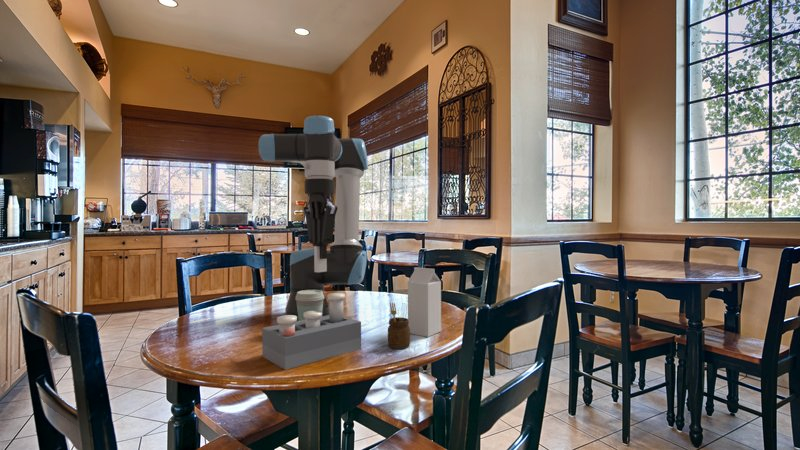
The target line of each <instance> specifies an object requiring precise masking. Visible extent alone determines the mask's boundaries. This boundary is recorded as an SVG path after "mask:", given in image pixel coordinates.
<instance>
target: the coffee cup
mask: <svg viewBox="0 0 800 450" xmlns="http://www.w3.org/2000/svg"><path fill="white" fill-rule="evenodd" d="M324 298H325V297H324V294H323V291H321V290H303V291H299V292H297V295H296V298H295V300H296V302H297V311H298V319H297V320H298V321H301V320H306V318H304V317H303V313H304V312H307V311H322V309H323V299H324Z"/></svg>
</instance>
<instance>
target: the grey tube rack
mask: <svg viewBox="0 0 800 450" xmlns="http://www.w3.org/2000/svg"><path fill="white" fill-rule="evenodd" d="M261 328H262V330H261V336H262V343H261V344H262V348H261V349H262V357H263V358H264V359H266V360H268V362H271V363H272V364H274V365H276V366H278V367H280V368H282V369H283V370H285V371H287V370H290V369H293V368H297V367H300V366H301V367H302V366H304V365H308V364H312V363H315V362H319V361H322V360H326V359H329V358H333V357H334V358H335V357H336V356H337V357H338V356H340V355H345V354H348V353H351V352H355V351H358V350H361V349H362V321H359V320H356V319H353V318H350V317H347V316H343V321H341V322H337V323H331V322H330V314H327V315H325V316H322V317H321V318H320V326H318V327H313V328H308V329H306V320H301V321H299V320H297V322H295V329H293V328H288V329H285V330H284V334H281V333H279V324H276V325H272V326H271V325H270V326H266V327H265V326H264V327H261Z"/></svg>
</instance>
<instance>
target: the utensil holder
mask: <svg viewBox="0 0 800 450" xmlns="http://www.w3.org/2000/svg"><path fill="white" fill-rule="evenodd" d="M403 305H405V311H403V313H402V314H403V315H404V316H402V315H400V313H398V312H402V310H403V309H402V308H398V312H397V308H396V304H395V302H394V303H393V302H389V309H390V314H391V315H393V317H391V318H390V319H388V320H389V321H388V327H387V346H388V347H389V348H391V349H394V350H404V349H408V348H410V346H411V333H410V328H409V326H408V324H409V321H408V317H406V316H407V314H406V312H408V304H406V303H404V302H403ZM397 314H398V317H396V315H397Z"/></svg>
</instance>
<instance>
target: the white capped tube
mask: <svg viewBox="0 0 800 450" xmlns="http://www.w3.org/2000/svg"><path fill="white" fill-rule="evenodd" d="M297 321H298V319H297V316H295V315H281V316H278V317H276V324H278V325H279V333H281V334H284V330H285V329H288V328H293V329H295V322H297Z"/></svg>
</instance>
